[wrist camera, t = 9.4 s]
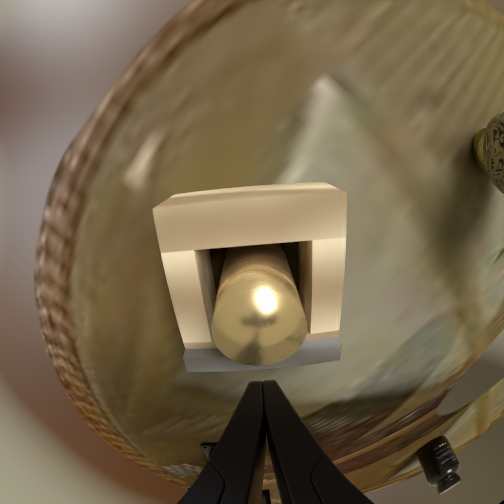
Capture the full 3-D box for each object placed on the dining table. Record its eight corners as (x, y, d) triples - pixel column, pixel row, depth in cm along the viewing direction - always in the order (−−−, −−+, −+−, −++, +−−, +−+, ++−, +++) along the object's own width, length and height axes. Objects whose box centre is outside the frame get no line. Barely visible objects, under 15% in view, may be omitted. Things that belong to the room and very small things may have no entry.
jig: (321, 320, 19) (338, 365, 15) (199, 330, 19) (189, 377, 15) (323, 181, 15) (352, 195, 11) (174, 194, 16) (146, 213, 11)
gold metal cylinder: (287, 288, 18) (306, 361, 12) (227, 293, 18) (219, 368, 12) (285, 231, 17) (308, 286, 10) (220, 237, 17) (203, 294, 10)
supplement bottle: (436, 446, 34) (453, 487, 22) (410, 457, 33) (427, 501, 22) (451, 430, 31) (472, 473, 20) (425, 441, 31) (445, 489, 20)
